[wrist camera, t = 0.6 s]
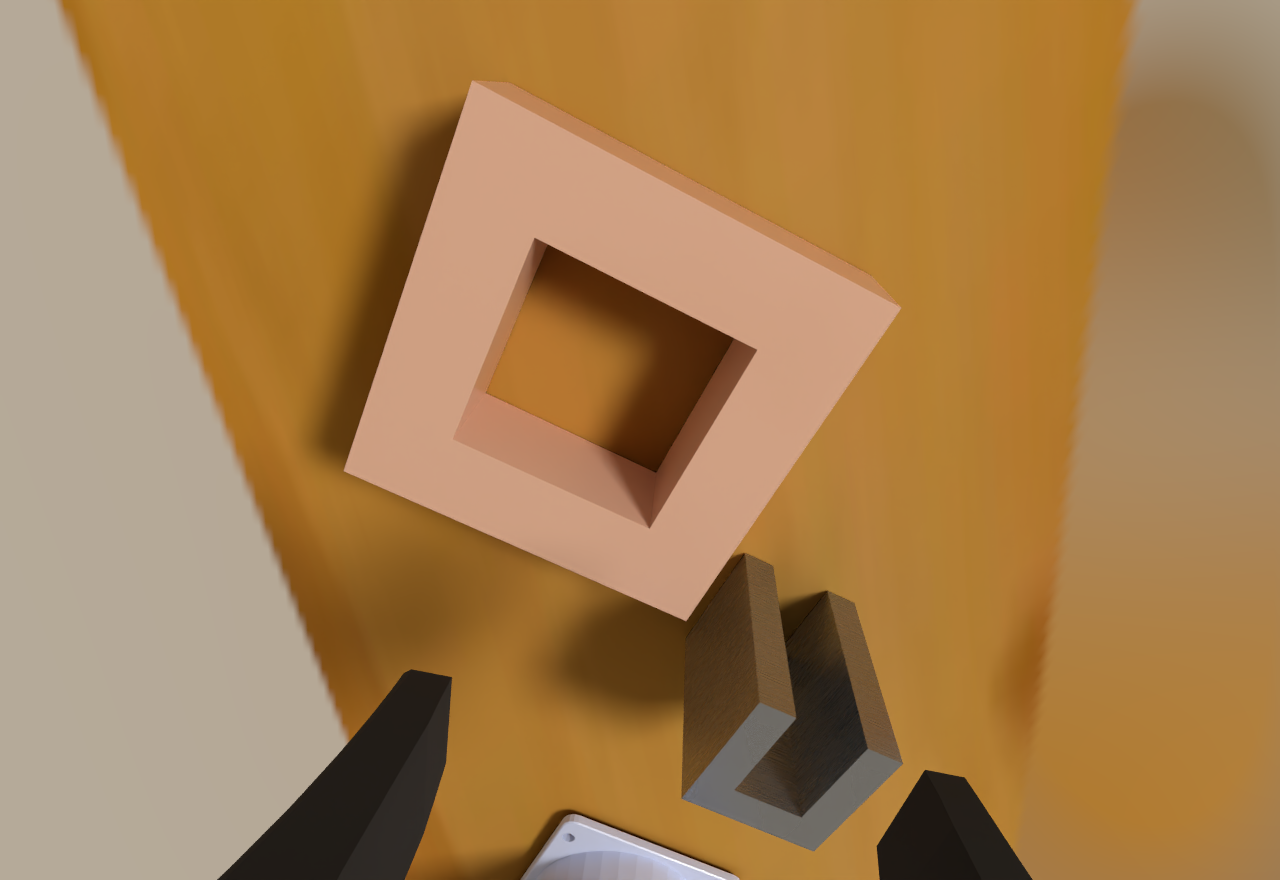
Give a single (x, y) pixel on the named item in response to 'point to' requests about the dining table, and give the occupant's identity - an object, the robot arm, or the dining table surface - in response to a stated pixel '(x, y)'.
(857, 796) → the bracket
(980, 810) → the robot arm
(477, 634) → the dining table surface
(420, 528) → the dining table surface
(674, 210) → the well
